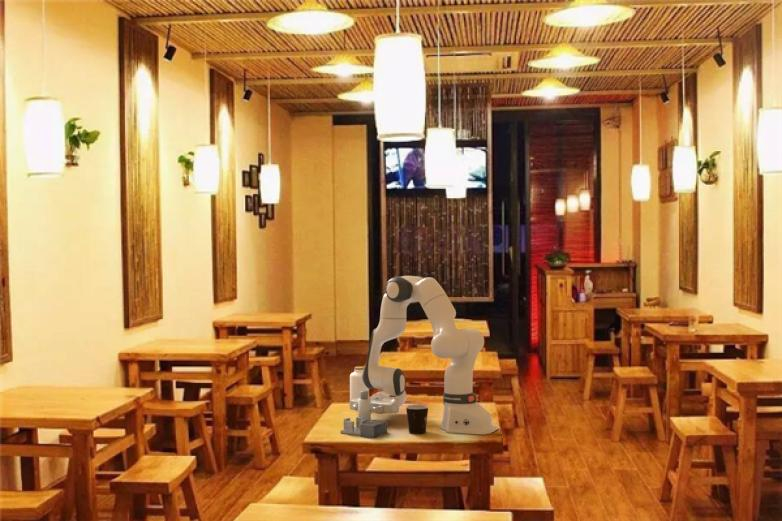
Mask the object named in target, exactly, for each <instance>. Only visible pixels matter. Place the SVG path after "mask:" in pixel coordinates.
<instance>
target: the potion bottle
mask: <svg viewBox="0 0 782 521" xmlns="http://www.w3.org/2000/svg"><path fill="white" fill-rule="evenodd" d="M364 368H365V366H354V371H353V372H351V373H350V375H349V401H350V400H352V399H357V398H360V391H368V398H370V389H369V388H367V387H366V385H365V384H364V382H363V380H362V375H363V371H364Z"/></svg>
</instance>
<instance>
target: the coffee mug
mask: <svg viewBox="0 0 782 521" xmlns="http://www.w3.org/2000/svg"><path fill="white" fill-rule="evenodd" d="M405 408H406V410H405V411H406V417H407V418H406V419H407V425H408V433H409V434H410V435H425V434H426V433H427V425H428V412H429V406H428V405H425V404H410V405H406V406H405Z"/></svg>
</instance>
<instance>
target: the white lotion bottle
mask: <svg viewBox="0 0 782 521" xmlns="http://www.w3.org/2000/svg"><path fill="white" fill-rule="evenodd" d="M357 411H358V412H357V417H362V418H364V420H366V422H369V421H372V413H371V412H372V411H371V397H369V398H368V391H360V398H358V410H357Z"/></svg>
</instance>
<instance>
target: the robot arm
mask: <svg viewBox="0 0 782 521" xmlns="http://www.w3.org/2000/svg"><path fill="white" fill-rule="evenodd" d="M384 290H385V293H384V294H383V296H382V298H381V300H382V301H381V305H380V313H379V314H380V316H379V322H378V325H377V327H376V328H374V329H373V330H372V333H371V336H370V341H369V344H368V345H369V346H368V351H367V356H366V362H365V366H364V371H363V375H362V380H363V382H364V384H365V385H366V387H367V388H369V390H381V391H378V392H376V393H374V394H372V395H371V397H370V398H371V412H372V413H375V414H377V415H383V414H398V413H400V407H402V406H403V405H404V404H405V402H406V400H407V391H406V386H407V384H406V383H407V380H406V376H405V374H404V371H403V370H402V369H401V368H398V367H392V366H391V367H390V366H389V367H388V366H381V365H380V364H379V362H380V355H381V350H382V346H383V345H384V343H386V342H389V341H391V340H394V339H397V338H399V337H401V335H403V334H404V332H405V331H406V327H407V308H408V306H409V305H410V304H416V303H419V304H420V306H421V308H422V309H423V311H424V313H425V316H426V317H427V319H428V321H429V323H430V325H431V328H432V333H433V334H432V335H433V336H432V339H431V342H430V347H431V351H432V353H433V354H434V356H435V357H436V358H439V359H445V360H450V363H449V365H448V367H447V368H446V369H445V371H444V384H443V385H444V387H443V388H444V391H443V395H442V396H443V399H442V400H443V401H442V402H443V413H442V414H443V416H442V419H441V424H440V429H442V430H444V431H445V432H446V433H450V434H451V433H454V434H467V435H468V434H469V435H489V434H492V432H493V433H494V431H495V430H497V429H499V427H498V425H497V424H493V419H492V418H493V417H492V415H491V413H490V411H488V410H487V409H486V408H485V407H484V406H482V405H481V404H480V403H479V402H478V401H477V400H478V397H479V393H478V394H475V392H473V382H474V381H473V379H474V378H473V377H474V376H473V375H474V369H475V364H476V360H477V358H478V357H479V356H478V355H479V354H480V352H481V351H482V349H483V348H484V345H485V337H484V335H483V333H482V332H481V331H480V330H478V329H476V328H471V327H464V328H458V327H457V326H456V323H455V318H456V315H457V312H456V311H457V310H456V308H455V307H454V305H453V304H452V302H451V300H450V298H449V295H447V293H446V292H445V290H444V289H443V287H442V286H441V285H440V284H439V282H438V281H437V280H436V279H435V278H434V277H429V276H428V277H425V276H421V275H418V276H417V275H416V276H415V275H403V276H394V277H392V278H390V279H389V280H388V281H387V282H386V285H385V288H384ZM349 409H350V410H352V411H358V398H357V399H352V400H350V399H349ZM497 431H498V430H497ZM495 432H496V431H495Z"/></svg>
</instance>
